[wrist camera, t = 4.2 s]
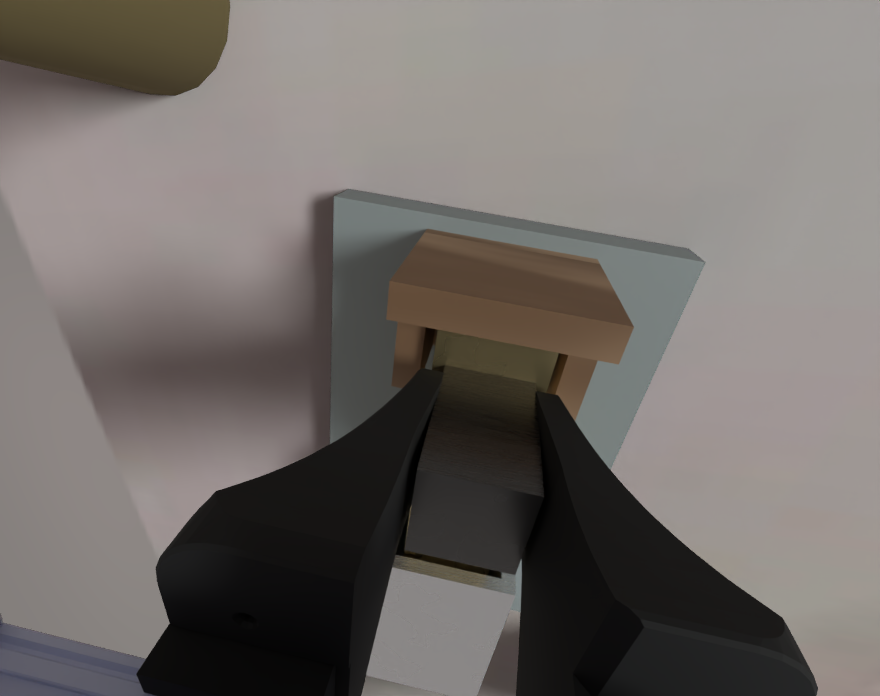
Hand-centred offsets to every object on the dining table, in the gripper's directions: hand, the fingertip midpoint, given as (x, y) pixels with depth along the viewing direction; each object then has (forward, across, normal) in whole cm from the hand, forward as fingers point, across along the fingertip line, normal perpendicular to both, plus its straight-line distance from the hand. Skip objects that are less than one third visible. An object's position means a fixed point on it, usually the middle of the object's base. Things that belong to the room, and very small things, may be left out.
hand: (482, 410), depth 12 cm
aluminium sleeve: (+4, 0, +11) cm, 12 cm away
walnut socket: (+4, 0, -2) cm, 5 cm away
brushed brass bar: (+4, 0, +4) cm, 6 cm away
